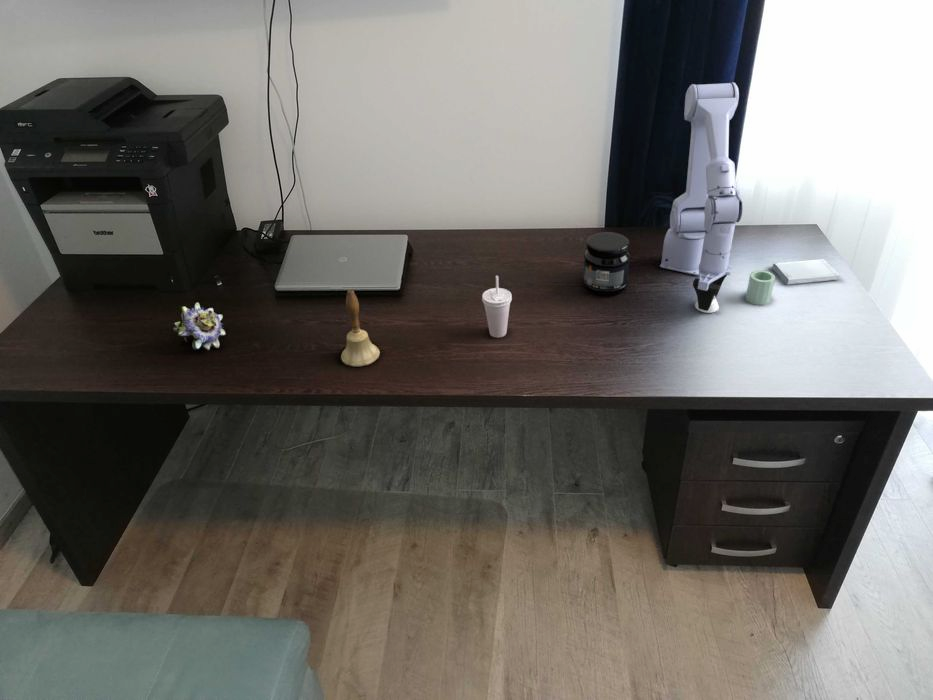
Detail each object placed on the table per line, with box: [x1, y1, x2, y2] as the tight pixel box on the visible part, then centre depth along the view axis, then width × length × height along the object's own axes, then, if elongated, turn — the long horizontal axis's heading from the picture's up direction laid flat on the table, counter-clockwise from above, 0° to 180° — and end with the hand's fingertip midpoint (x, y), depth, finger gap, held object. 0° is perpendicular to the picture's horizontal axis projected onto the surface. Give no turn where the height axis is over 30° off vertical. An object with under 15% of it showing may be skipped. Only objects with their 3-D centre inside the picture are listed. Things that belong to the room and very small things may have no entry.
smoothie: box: [481, 275, 513, 338], centre depth 154 cm, size 6×6×14 cm
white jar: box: [694, 296, 720, 314], centre depth 160 cm, size 5×3×5 cm
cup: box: [745, 269, 776, 306], centre depth 161 cm, size 5×5×6 cm
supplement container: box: [582, 231, 631, 296], centre depth 168 cm, size 10×10×12 cm
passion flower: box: [171, 302, 226, 351], centre depth 159 cm, size 11×11×12 cm
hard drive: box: [771, 258, 841, 285], centre depth 170 cm, size 2×8×12 cm
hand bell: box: [340, 289, 381, 368], centre depth 149 cm, size 8×8×16 cm
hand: (707, 303), depth 160 cm, fingers open, 5 cm apart
